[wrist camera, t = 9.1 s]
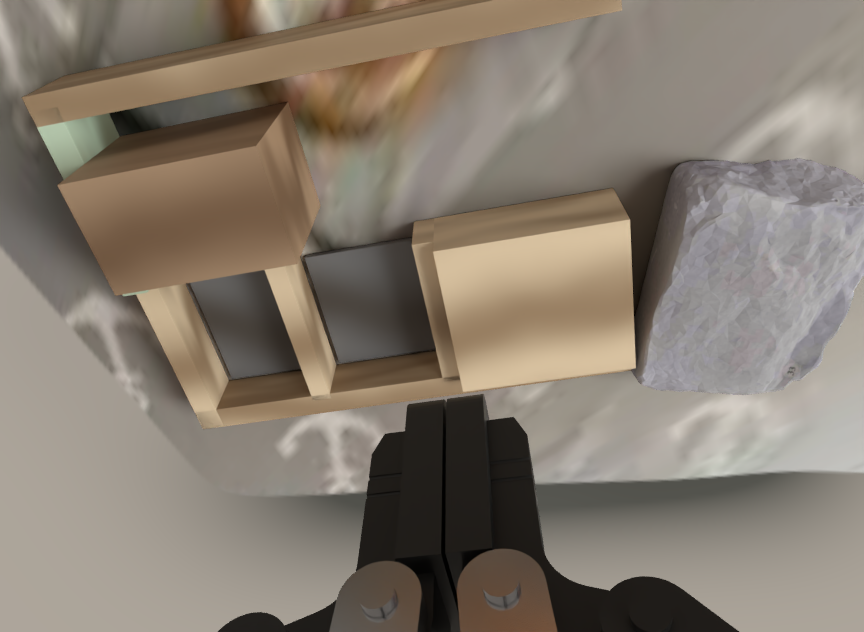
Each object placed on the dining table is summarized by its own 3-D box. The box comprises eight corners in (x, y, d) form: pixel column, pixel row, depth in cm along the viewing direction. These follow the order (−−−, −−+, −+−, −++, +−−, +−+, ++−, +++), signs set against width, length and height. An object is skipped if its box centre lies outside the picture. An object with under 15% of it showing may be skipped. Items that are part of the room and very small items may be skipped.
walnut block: (121, 135, 31) (57, 185, 26) (288, 101, 30) (256, 145, 25) (165, 233, 34) (115, 295, 28) (320, 204, 33) (297, 264, 27)
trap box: (64, 75, 29) (21, 97, 26) (601, -37, 27) (620, -27, 24) (216, 399, 39) (197, 442, 36) (621, 341, 36) (636, 382, 33)
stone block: (849, 145, 32) (655, 150, 31) (927, 186, 28) (710, 196, 27) (768, 343, 39) (606, 357, 37) (822, 399, 35) (643, 417, 34)
